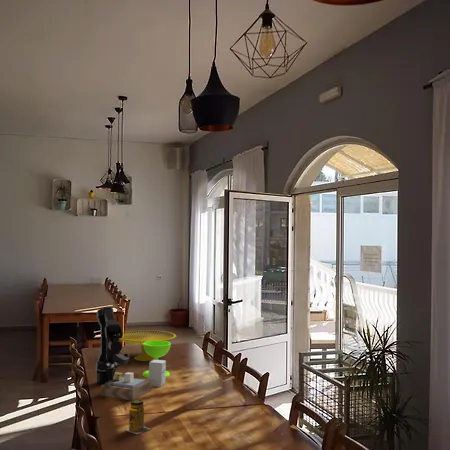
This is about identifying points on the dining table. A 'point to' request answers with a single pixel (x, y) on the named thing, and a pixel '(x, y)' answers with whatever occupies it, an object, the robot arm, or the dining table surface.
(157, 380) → the supplement box
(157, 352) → the wineglass
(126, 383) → the cover
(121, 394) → the case
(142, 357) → the cake stand
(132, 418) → the condiment
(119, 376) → the latch
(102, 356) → the robot arm
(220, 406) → the dining table surface
